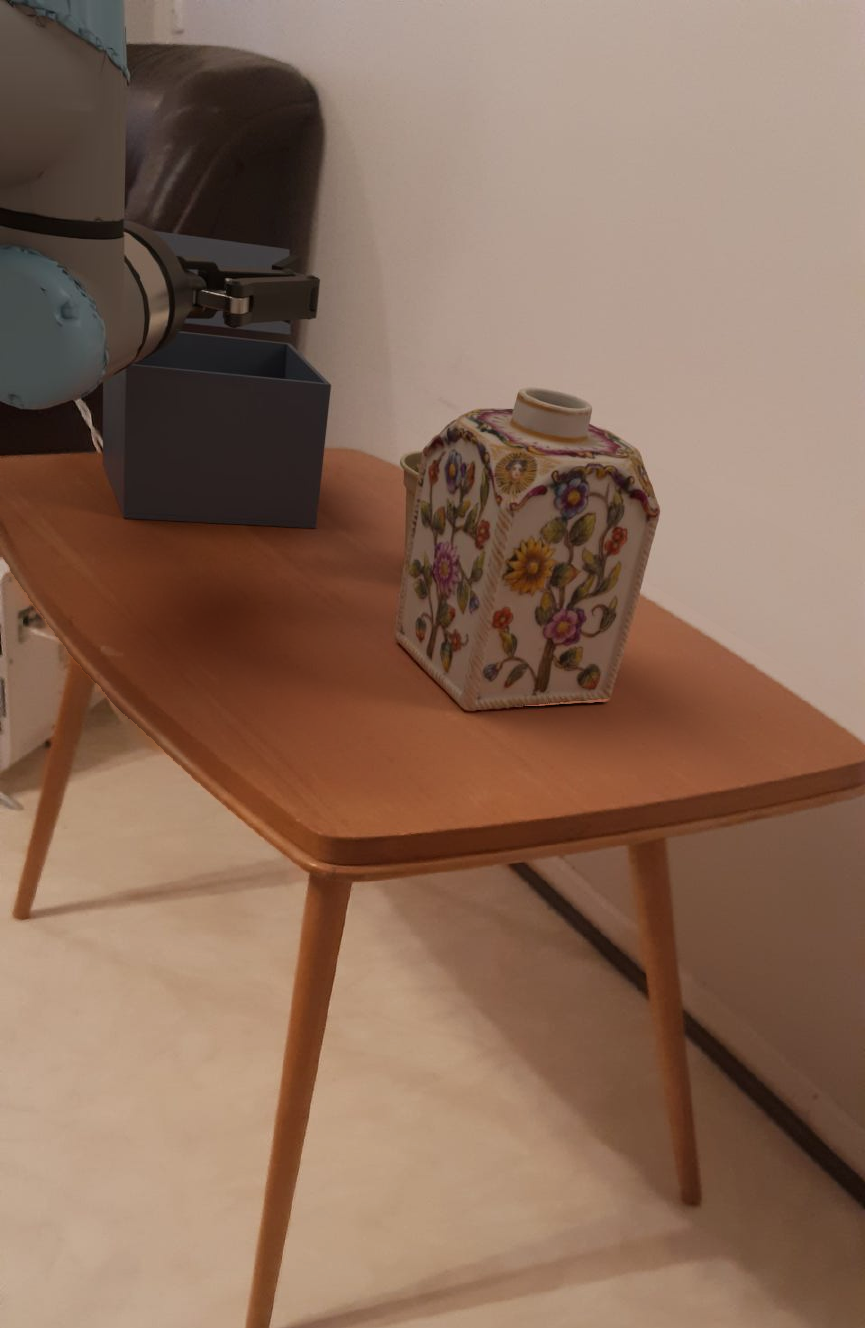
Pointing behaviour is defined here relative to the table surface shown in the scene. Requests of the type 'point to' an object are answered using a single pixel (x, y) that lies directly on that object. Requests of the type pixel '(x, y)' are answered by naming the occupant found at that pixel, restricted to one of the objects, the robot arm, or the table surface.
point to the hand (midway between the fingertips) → (205, 258)
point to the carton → (217, 433)
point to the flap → (229, 257)
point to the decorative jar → (525, 554)
